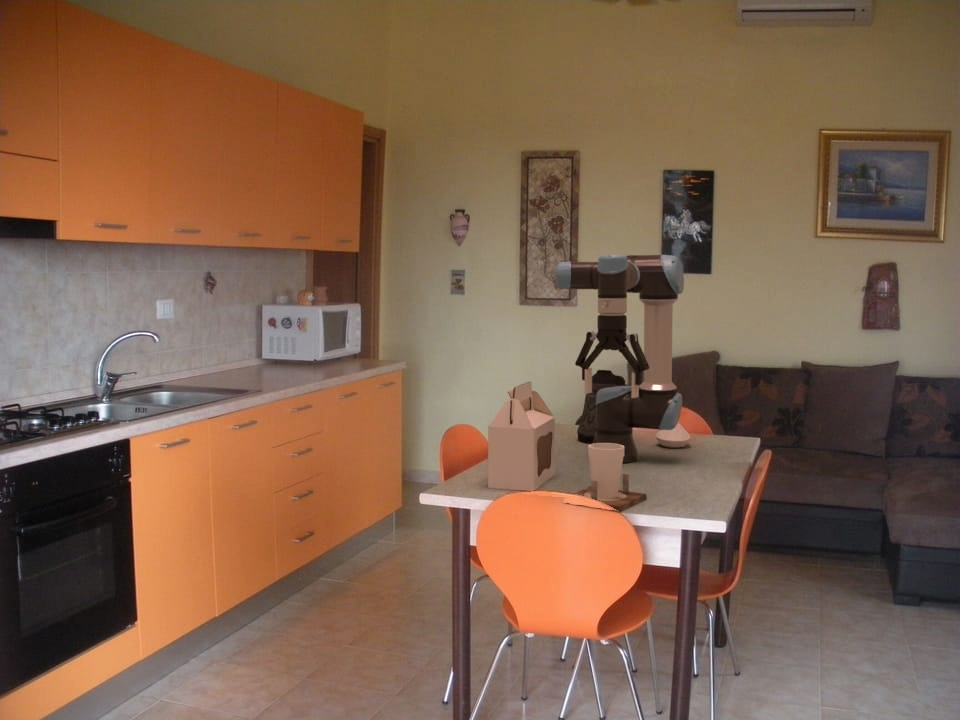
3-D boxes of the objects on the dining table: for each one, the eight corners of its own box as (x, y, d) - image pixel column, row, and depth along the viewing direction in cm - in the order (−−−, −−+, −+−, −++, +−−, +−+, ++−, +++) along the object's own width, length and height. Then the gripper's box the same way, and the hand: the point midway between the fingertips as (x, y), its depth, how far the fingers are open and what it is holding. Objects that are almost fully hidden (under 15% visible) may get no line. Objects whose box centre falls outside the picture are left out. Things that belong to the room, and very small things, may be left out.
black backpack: (575, 436, 341) (576, 367, 339) (629, 436, 341) (630, 368, 338) (578, 444, 325) (579, 372, 323) (635, 445, 324) (636, 373, 322)
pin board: (592, 491, 257) (592, 467, 257) (646, 499, 248) (646, 475, 248) (563, 503, 244) (563, 478, 244) (619, 512, 235) (619, 486, 235)
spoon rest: (691, 451, 316) (691, 429, 315) (655, 449, 318) (655, 428, 317) (688, 438, 339) (689, 418, 339) (655, 437, 341) (655, 417, 341)
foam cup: (620, 491, 251) (620, 442, 250) (627, 499, 242) (628, 449, 241) (584, 491, 251) (585, 443, 249) (590, 499, 241) (591, 449, 240)
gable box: (511, 472, 282) (512, 379, 279) (554, 475, 277) (555, 381, 274) (487, 488, 261) (487, 388, 258) (533, 492, 256) (534, 390, 254)
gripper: (563, 313, 249) (562, 393, 251) (650, 316, 235) (649, 401, 237) (576, 311, 255) (576, 389, 257) (662, 315, 241) (661, 397, 243)
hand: (611, 395), depth 247 cm, fingers open, 13 cm apart
